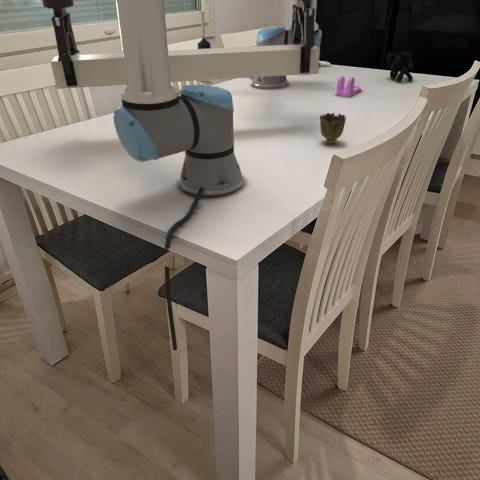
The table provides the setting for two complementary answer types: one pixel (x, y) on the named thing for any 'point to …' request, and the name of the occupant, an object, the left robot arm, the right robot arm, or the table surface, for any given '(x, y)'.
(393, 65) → the squiggle
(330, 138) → the cup
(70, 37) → the left robot arm
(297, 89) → the table surface
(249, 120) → the table surface
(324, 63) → the frying pan
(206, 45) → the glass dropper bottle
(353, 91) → the bracket
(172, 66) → the slab
